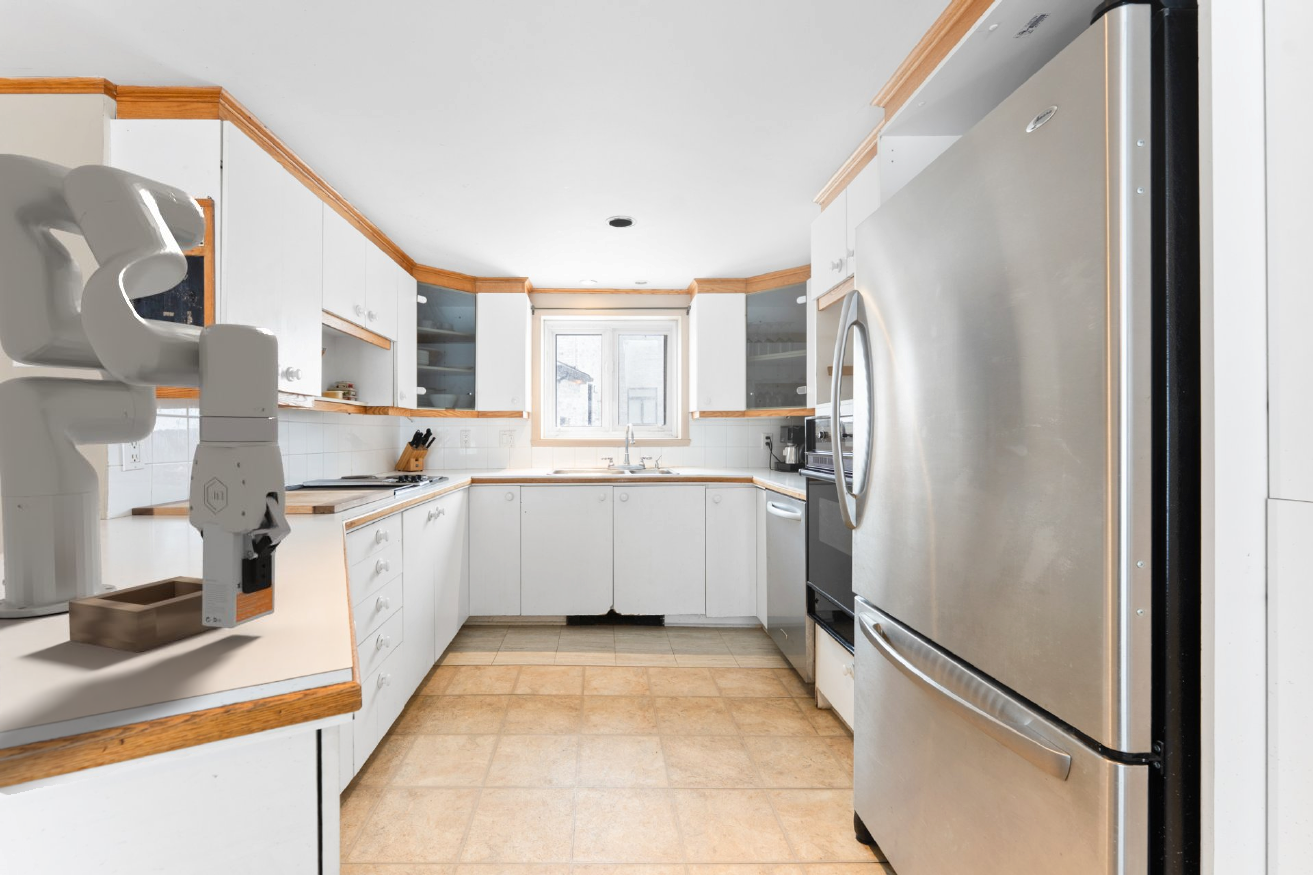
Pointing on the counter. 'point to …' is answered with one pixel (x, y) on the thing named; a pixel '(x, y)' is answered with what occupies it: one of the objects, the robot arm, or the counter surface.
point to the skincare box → (230, 581)
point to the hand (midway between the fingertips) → (240, 586)
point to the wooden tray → (140, 615)
